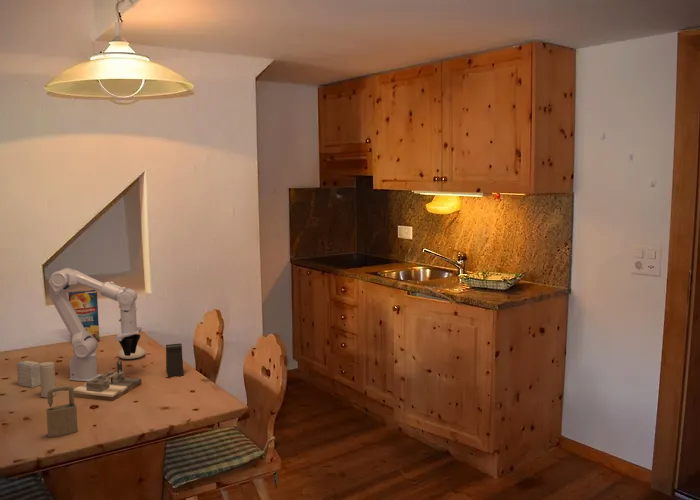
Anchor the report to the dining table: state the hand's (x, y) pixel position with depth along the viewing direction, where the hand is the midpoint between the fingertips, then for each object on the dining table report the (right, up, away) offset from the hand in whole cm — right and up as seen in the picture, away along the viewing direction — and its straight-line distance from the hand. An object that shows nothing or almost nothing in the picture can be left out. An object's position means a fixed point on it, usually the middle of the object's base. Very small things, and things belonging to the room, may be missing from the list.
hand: (130, 354), depth 237 cm
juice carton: (-41, -3, +53) cm, 67 cm away
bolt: (-2, -8, -9) cm, 12 cm away
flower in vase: (-10, -6, +28) cm, 30 cm away
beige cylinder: (-22, -12, -19) cm, 32 cm away
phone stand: (+16, -9, +7) cm, 19 cm away
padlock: (-2, -16, -50) cm, 53 cm away
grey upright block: (-35, -11, -8) cm, 38 cm away
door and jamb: (-4, -11, -13) cm, 18 cm away
